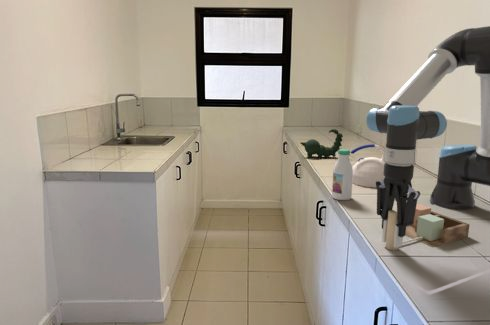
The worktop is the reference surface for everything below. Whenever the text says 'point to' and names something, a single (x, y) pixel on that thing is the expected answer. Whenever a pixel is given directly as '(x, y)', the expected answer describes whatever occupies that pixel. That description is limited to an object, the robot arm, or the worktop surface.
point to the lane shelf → (448, 234)
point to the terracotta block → (421, 212)
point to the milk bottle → (342, 176)
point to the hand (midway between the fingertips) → (392, 243)
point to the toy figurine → (320, 150)
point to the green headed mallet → (426, 228)
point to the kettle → (368, 168)
